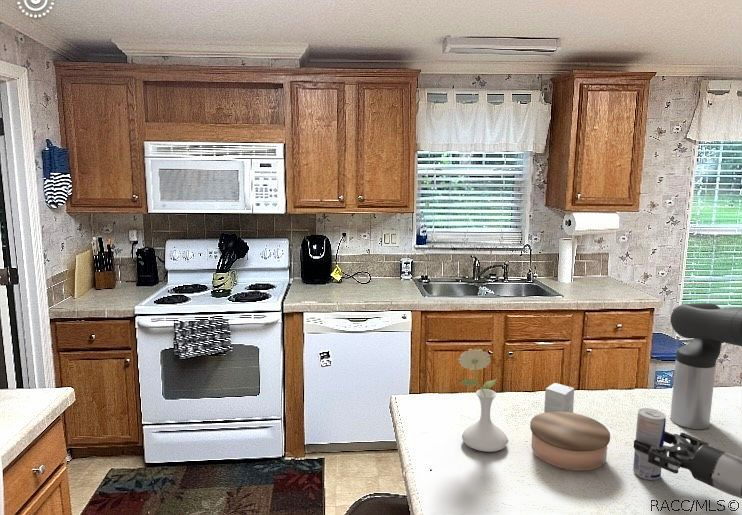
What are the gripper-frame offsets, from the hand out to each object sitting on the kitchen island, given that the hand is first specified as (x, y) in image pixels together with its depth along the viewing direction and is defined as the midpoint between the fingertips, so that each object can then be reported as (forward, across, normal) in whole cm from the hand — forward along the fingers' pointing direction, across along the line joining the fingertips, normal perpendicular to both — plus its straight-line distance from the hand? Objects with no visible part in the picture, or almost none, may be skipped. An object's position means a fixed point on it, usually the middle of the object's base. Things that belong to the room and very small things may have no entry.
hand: (645, 437), depth 120 cm
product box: (+30, -10, +9) cm, 33 cm away
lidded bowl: (+14, +8, +8) cm, 18 cm away
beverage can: (-1, 0, +9) cm, 9 cm away
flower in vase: (+30, +21, +9) cm, 38 cm away
